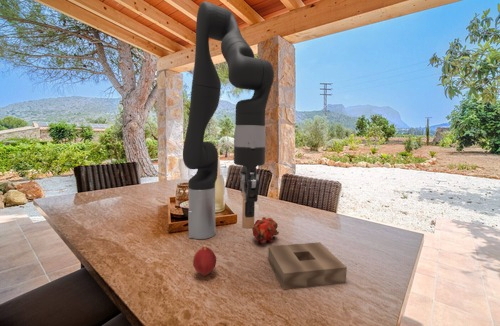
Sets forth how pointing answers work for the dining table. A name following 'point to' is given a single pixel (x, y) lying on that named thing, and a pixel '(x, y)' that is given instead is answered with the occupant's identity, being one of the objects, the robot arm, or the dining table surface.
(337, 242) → the dining table surface
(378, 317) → the dining table surface
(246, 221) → the peg
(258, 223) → the dragon fruit
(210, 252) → the onion
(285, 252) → the hole block
